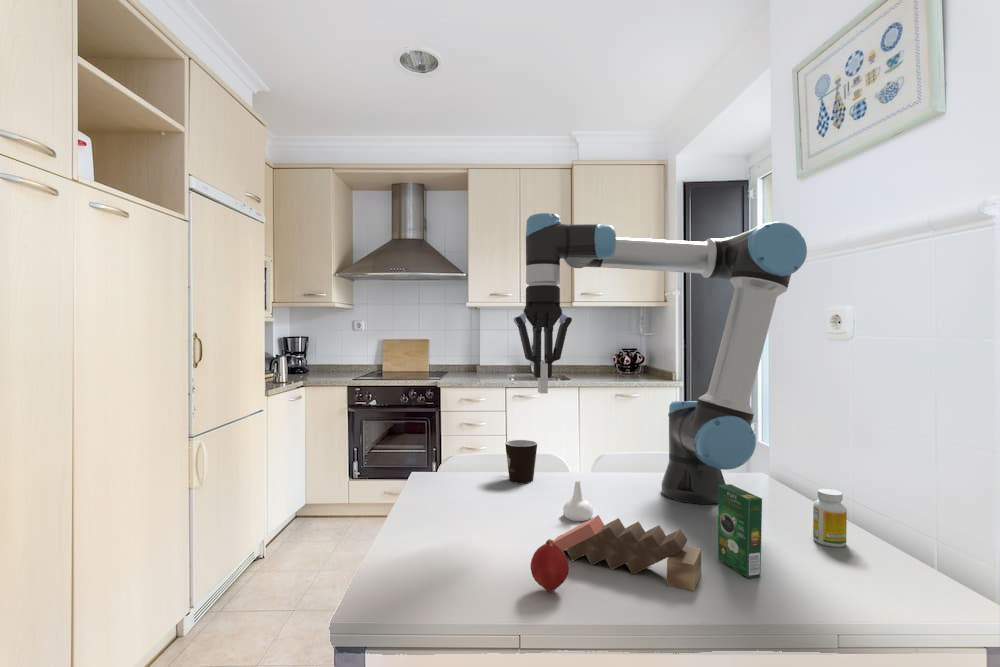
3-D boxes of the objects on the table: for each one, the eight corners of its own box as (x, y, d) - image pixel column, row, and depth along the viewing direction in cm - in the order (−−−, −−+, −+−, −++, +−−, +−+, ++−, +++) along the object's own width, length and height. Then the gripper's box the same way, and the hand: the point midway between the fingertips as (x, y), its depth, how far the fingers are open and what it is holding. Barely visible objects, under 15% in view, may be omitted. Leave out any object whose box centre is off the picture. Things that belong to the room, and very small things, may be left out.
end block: (667, 585, 83) (667, 559, 83) (675, 568, 89) (675, 544, 89) (693, 591, 81) (693, 564, 81) (701, 573, 87) (701, 548, 87)
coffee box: (763, 578, 86) (763, 496, 86) (748, 580, 85) (748, 498, 85) (731, 557, 93) (731, 483, 93) (716, 559, 93) (716, 484, 93)
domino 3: (585, 554, 91) (630, 530, 87) (595, 544, 95) (638, 521, 91) (591, 565, 90) (637, 541, 86) (601, 554, 95) (645, 532, 91)
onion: (528, 583, 84) (528, 532, 84) (564, 581, 84) (564, 531, 84) (533, 601, 78) (533, 546, 78) (572, 599, 79) (572, 545, 79)
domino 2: (566, 550, 93) (609, 526, 89) (576, 540, 97) (618, 517, 93) (572, 561, 92) (616, 537, 88) (582, 550, 96) (625, 528, 93)
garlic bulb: (575, 512, 119) (573, 476, 119) (599, 517, 114) (596, 479, 115) (558, 519, 114) (555, 482, 115) (581, 524, 110) (578, 485, 110)
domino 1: (546, 546, 94) (588, 523, 91) (557, 536, 99) (598, 515, 95) (552, 556, 94) (595, 534, 90) (563, 546, 98) (604, 525, 94)
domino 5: (625, 563, 87) (674, 538, 84) (633, 552, 92) (680, 528, 88) (632, 574, 87) (681, 550, 83) (640, 563, 91) (687, 539, 87)
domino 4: (605, 558, 89) (652, 534, 85) (613, 548, 93) (659, 524, 90) (611, 569, 89) (659, 546, 85) (620, 558, 93) (666, 535, 89)
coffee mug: (535, 485, 138) (535, 447, 138) (502, 483, 140) (502, 445, 140) (540, 474, 150) (540, 438, 150) (510, 472, 151) (510, 437, 151)
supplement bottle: (806, 539, 102) (806, 489, 102) (824, 535, 104) (824, 486, 104) (835, 550, 97) (835, 497, 97) (853, 545, 99) (853, 493, 99)
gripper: (565, 287, 122) (565, 390, 122) (510, 286, 120) (510, 391, 119) (576, 284, 115) (576, 394, 115) (517, 283, 112) (517, 395, 112)
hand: (542, 392), depth 117 cm, fingers closed
